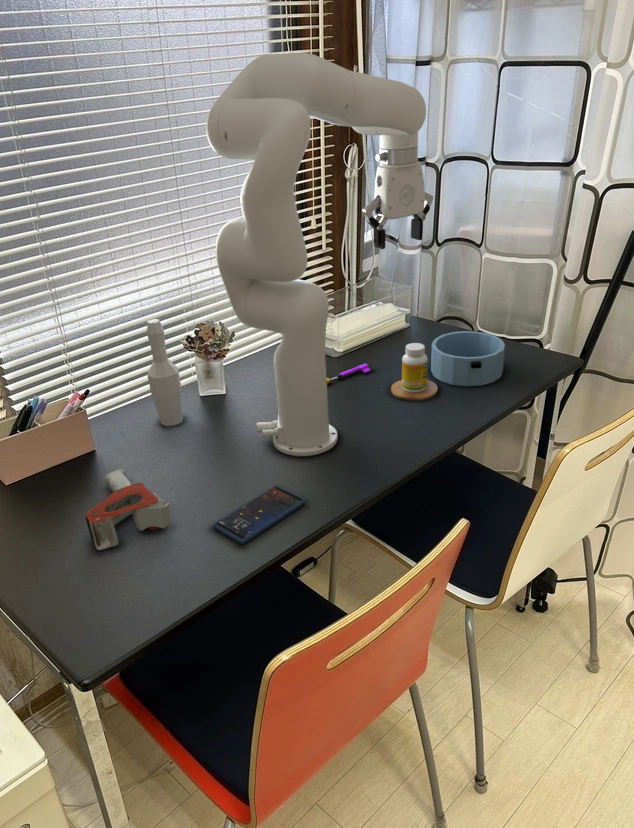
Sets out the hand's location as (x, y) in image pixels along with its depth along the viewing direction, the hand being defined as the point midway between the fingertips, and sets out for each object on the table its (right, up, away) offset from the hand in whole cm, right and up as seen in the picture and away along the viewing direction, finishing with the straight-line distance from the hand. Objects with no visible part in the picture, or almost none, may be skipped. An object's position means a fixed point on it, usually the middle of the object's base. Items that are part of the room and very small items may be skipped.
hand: (398, 243), depth 151 cm
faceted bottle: (-48, -38, -2) cm, 61 cm away
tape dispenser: (-50, -56, -30) cm, 81 cm away
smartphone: (-27, -56, -33) cm, 70 cm away
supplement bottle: (+4, -31, +3) cm, 31 cm away
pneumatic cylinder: (-11, -28, +10) cm, 32 cm away
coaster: (+4, -31, +3) cm, 31 cm away
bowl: (+17, -26, +9) cm, 32 cm away
